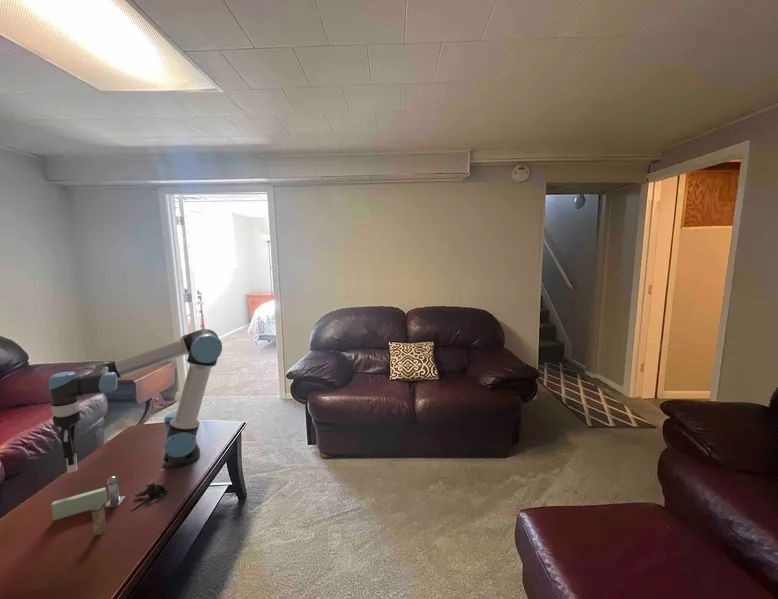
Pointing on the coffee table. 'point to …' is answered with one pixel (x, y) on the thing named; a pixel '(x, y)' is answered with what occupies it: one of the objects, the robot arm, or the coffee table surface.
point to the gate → (78, 503)
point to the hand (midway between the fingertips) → (72, 470)
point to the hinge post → (114, 493)
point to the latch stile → (99, 518)
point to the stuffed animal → (151, 493)
